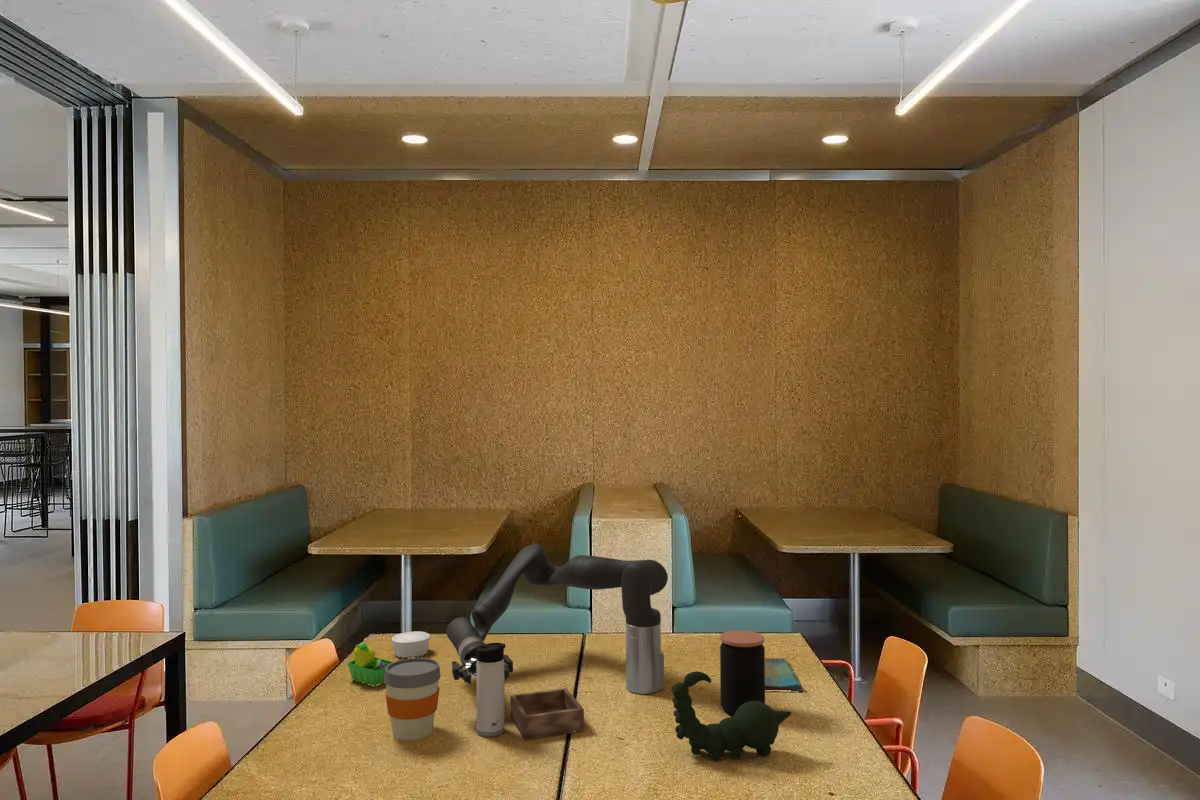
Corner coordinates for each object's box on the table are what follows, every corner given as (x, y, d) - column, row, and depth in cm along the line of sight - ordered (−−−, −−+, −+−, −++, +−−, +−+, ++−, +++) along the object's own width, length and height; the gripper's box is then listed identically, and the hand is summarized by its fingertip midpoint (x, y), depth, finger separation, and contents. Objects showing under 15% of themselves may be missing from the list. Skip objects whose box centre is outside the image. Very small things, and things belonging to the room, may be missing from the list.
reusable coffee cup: (391, 748, 168) (390, 679, 168) (379, 727, 179) (379, 662, 179) (447, 736, 174) (447, 670, 174) (432, 716, 185) (432, 654, 185)
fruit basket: (396, 680, 210) (396, 639, 210) (370, 691, 202) (370, 648, 202) (367, 673, 216) (367, 632, 216) (341, 682, 208) (341, 641, 208)
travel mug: (500, 738, 173) (500, 649, 173) (472, 736, 174) (472, 647, 174) (509, 727, 179) (509, 640, 179) (482, 724, 180) (482, 639, 180)
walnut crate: (566, 708, 190) (566, 687, 190) (584, 731, 176) (583, 709, 176) (510, 716, 185) (510, 695, 185) (524, 740, 172) (524, 717, 172)
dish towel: (736, 693, 200) (736, 684, 200) (726, 663, 223) (726, 654, 223) (803, 695, 199) (803, 685, 199) (786, 664, 222) (786, 655, 222)
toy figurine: (681, 773, 159) (801, 761, 159) (672, 682, 160) (792, 670, 160) (676, 752, 169) (789, 741, 169) (668, 666, 169) (781, 655, 169)
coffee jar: (769, 706, 190) (768, 633, 190) (759, 722, 181) (758, 645, 181) (727, 699, 195) (726, 628, 195) (715, 715, 185) (714, 640, 185)
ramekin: (384, 657, 229) (384, 639, 229) (406, 646, 239) (406, 629, 239) (415, 662, 225) (415, 644, 225) (437, 650, 235) (437, 633, 235)
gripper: (503, 666, 197) (518, 689, 182) (446, 674, 192) (457, 698, 177) (502, 637, 197) (517, 657, 182) (446, 644, 192) (457, 665, 177)
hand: (488, 677), depth 179 cm, fingers open, 8 cm apart
